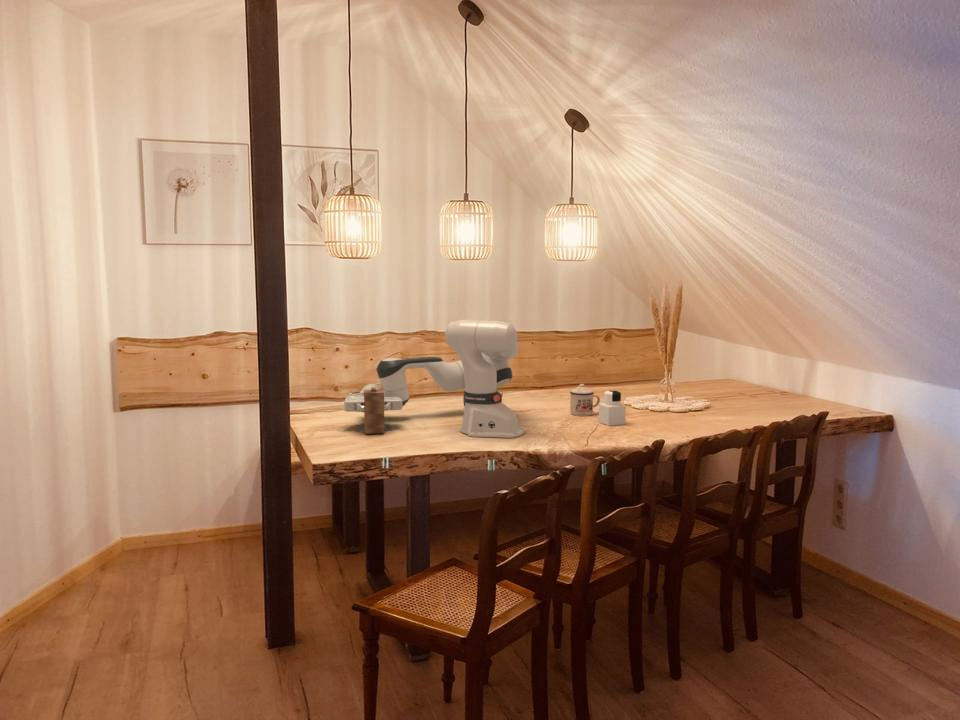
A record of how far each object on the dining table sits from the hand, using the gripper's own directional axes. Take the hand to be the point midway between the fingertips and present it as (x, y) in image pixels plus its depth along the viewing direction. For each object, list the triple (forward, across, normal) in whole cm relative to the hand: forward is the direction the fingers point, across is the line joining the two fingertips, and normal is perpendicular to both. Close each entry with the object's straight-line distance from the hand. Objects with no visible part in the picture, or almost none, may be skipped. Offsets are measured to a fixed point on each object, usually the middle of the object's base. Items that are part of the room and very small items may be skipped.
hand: (374, 408), depth 279 cm
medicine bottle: (-4, -86, -9) cm, 87 cm away
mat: (-9, 0, -9) cm, 13 cm away
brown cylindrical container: (-1, 0, -8) cm, 8 cm away
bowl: (-1, 0, -9) cm, 9 cm away
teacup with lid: (-23, -82, -9) cm, 85 cm away
